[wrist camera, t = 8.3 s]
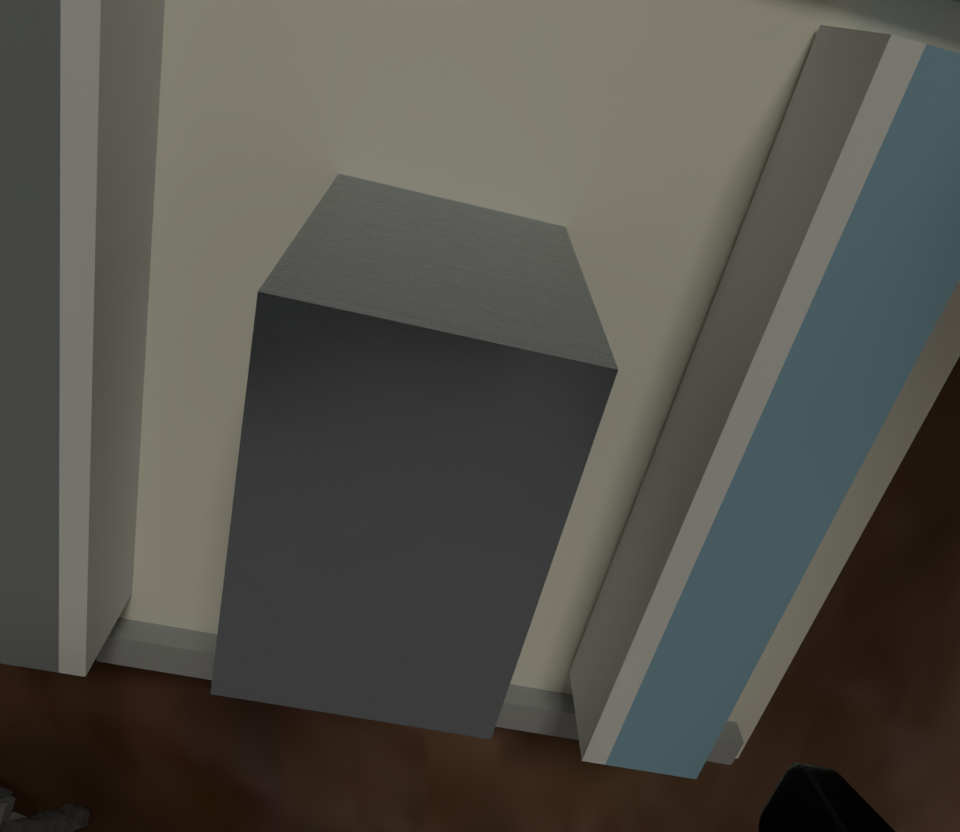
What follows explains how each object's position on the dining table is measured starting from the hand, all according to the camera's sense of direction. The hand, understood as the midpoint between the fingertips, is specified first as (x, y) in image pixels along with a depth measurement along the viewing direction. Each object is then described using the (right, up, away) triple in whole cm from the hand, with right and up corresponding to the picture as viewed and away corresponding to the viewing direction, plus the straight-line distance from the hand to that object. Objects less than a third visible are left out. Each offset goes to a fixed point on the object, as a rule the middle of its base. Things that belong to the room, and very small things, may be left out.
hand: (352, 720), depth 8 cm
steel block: (0, +4, +8) cm, 9 cm away
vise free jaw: (+6, +3, +8) cm, 11 cm away
